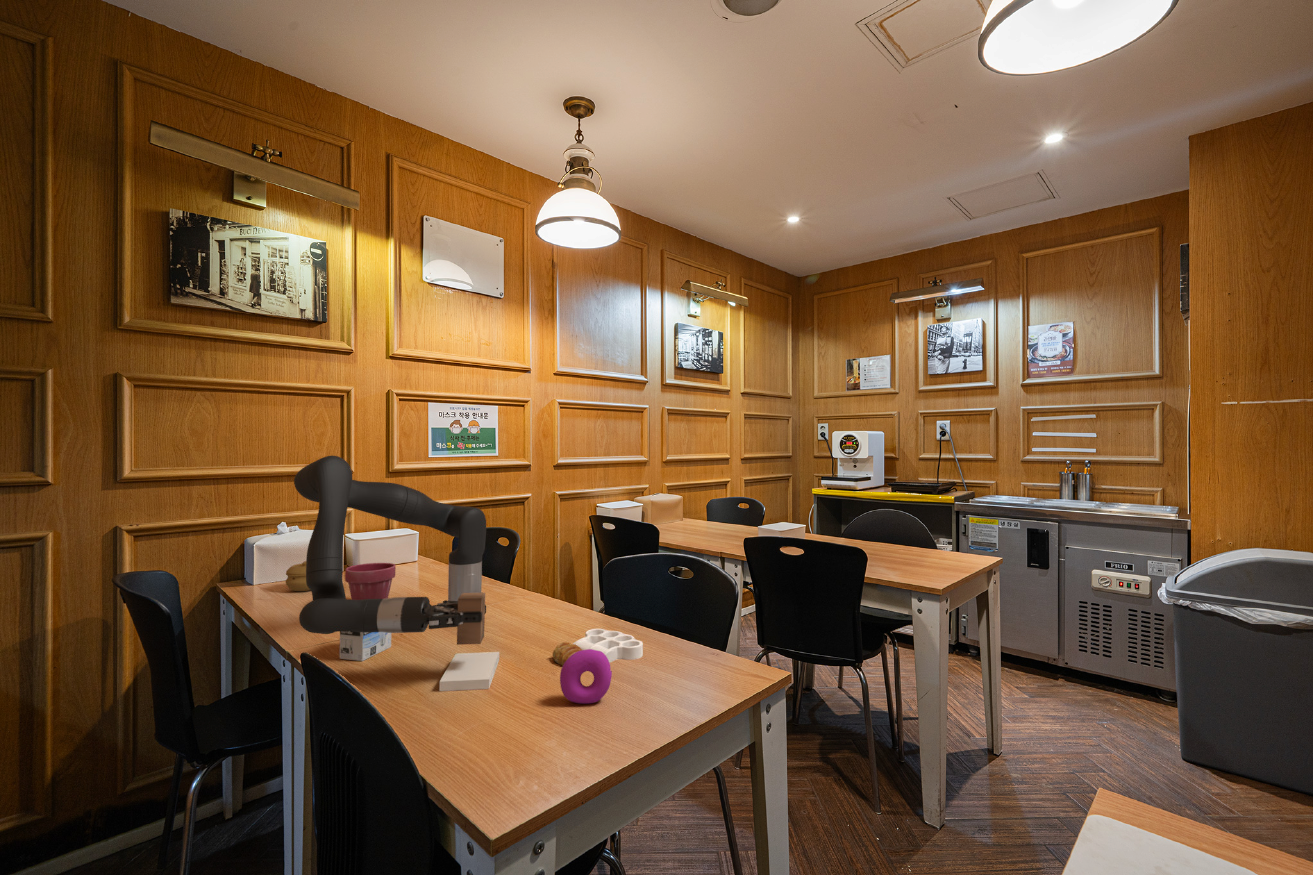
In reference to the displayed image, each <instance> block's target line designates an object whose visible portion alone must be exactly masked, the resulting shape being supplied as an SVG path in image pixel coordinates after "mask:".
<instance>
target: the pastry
mask: <svg viewBox="0 0 1313 875" xmlns="http://www.w3.org/2000/svg"><path fill="white" fill-rule="evenodd" d="M581 650H582V649H581V648H580V647H579V646H577V645H576V644H573V643H571V642H568V641H565V642H561V643H560V644H559V645H557V646H555V648H554V649H553V652H552V658H553V660H554V662H555V663H556V664H558V665H560V666H562V667H563V665H564V663H565V662H566V660H567V659H568V658H569V657H570V656H571V655H573V654H574V653H576V652H578V651H581Z"/></svg>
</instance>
